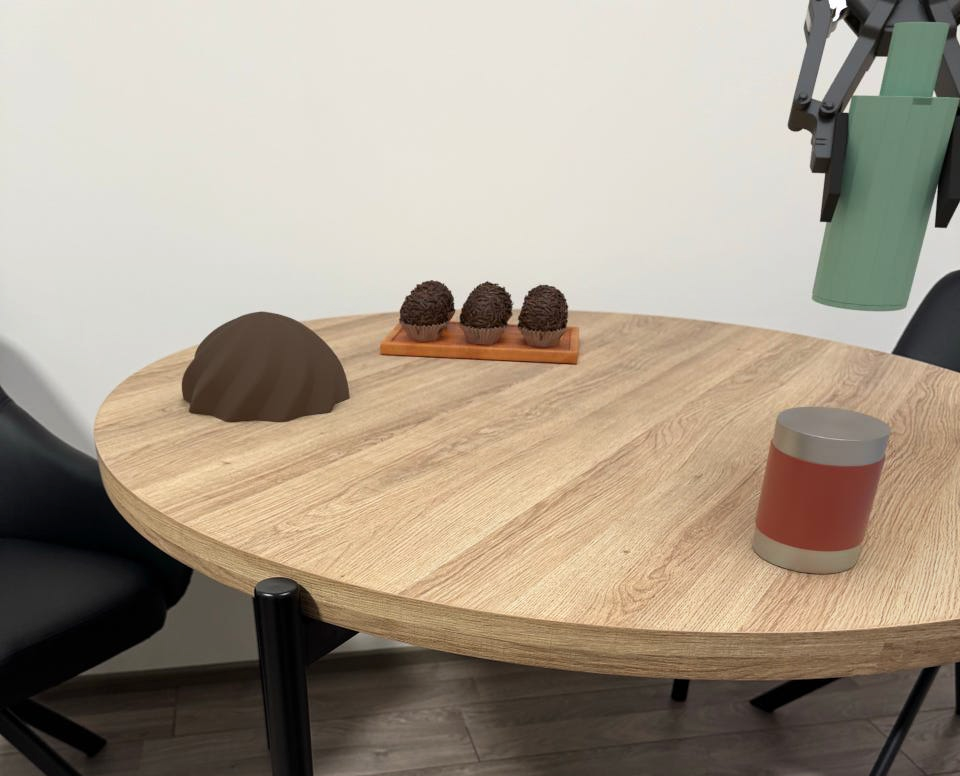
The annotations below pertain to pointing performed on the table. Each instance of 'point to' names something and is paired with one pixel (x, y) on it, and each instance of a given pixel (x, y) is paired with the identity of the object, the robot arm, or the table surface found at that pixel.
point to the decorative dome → (263, 371)
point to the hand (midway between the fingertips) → (888, 210)
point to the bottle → (888, 178)
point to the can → (819, 488)
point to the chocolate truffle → (484, 326)
